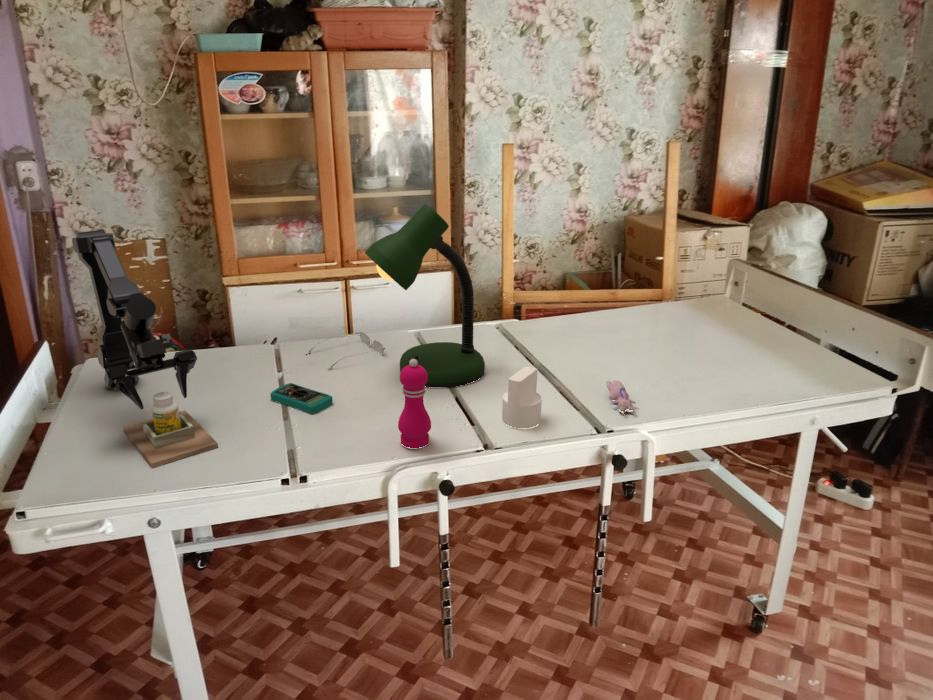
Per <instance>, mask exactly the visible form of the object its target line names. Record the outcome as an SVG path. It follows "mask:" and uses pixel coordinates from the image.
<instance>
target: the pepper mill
mask: <svg viewBox="0 0 933 700" xmlns="http://www.w3.org/2000/svg"><path fill="white" fill-rule="evenodd" d="M409 364H410V365H408V366H406V367H404V368H403V369H402V371H401V373H400V372H399V381H400V384H401V385H402V387H401V389H402V392H401V393H402V395H403V396H404V406H403V409H402V411H401V414H400V416H399V419H398V422H397V425H398V426H397V428H398V431H399V432H400V433H401V434H400V445H401V444H403V445H404V446H406V447H410V448H419V447H423V446H425V445H427V444H428V443H429V444H430V434H429V433H430V431H431V429H432V420H431V417H430V415H429V413H428V411H427V410H426V407H425V403H424V396H425V395H426V388H427V387H425V384H426V383H427V380H428V374H427V371H426V370H425V369H424V368H423V367H422V366H420V365H417V364H418V362H417V360H416V359H411V360H410V362H409ZM429 444H428V445H429ZM428 445H427V446H428Z"/></svg>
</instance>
